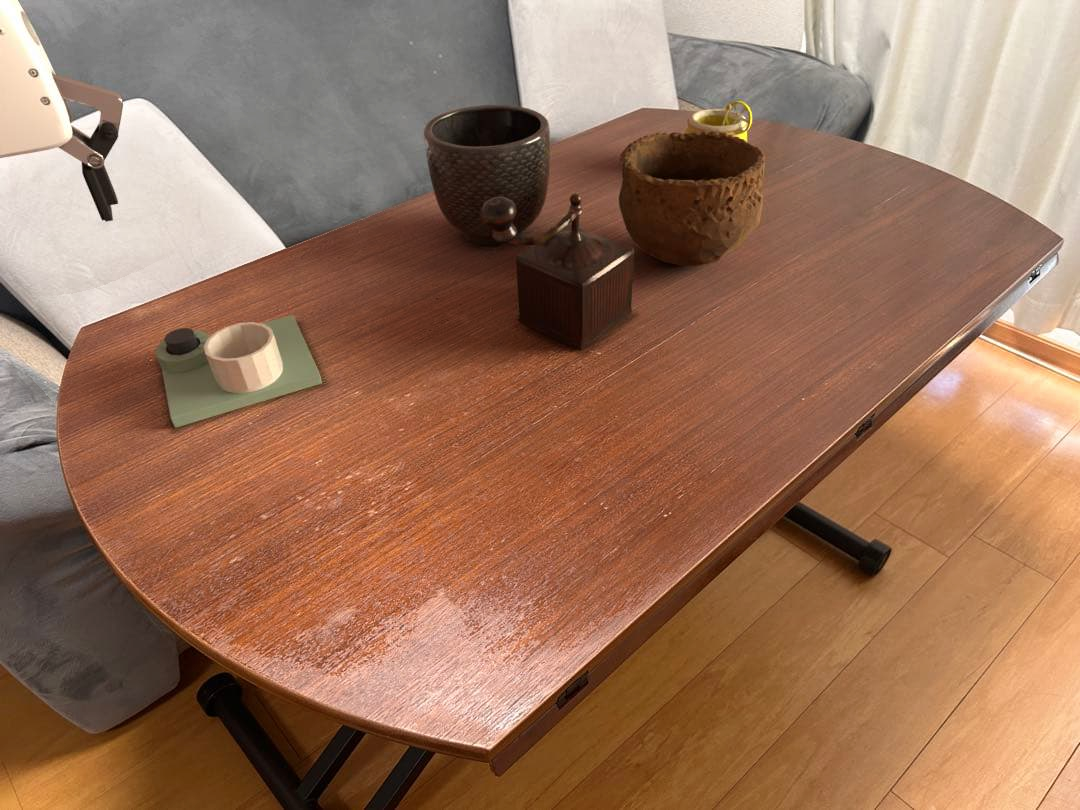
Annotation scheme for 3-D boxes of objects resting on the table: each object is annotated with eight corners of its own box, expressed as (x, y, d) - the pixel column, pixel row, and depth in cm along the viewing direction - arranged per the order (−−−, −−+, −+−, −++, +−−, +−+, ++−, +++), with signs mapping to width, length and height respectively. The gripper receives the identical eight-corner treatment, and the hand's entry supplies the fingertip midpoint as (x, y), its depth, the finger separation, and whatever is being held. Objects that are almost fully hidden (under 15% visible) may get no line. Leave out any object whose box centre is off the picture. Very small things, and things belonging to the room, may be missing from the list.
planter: (531, 267, 105) (526, 154, 94) (418, 252, 109) (401, 143, 99) (565, 213, 117) (564, 108, 107) (463, 202, 122) (452, 100, 111)
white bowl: (222, 401, 82) (209, 368, 79) (212, 365, 87) (199, 333, 84) (289, 381, 84) (279, 348, 81) (276, 347, 89) (266, 315, 87)
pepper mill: (565, 286, 101) (563, 153, 89) (633, 314, 95) (641, 176, 83) (484, 339, 92) (470, 200, 80) (554, 373, 86) (550, 229, 74)
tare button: (171, 359, 86) (165, 346, 85) (168, 344, 89) (163, 332, 87) (200, 351, 87) (195, 338, 86) (196, 337, 90) (191, 324, 88)
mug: (673, 154, 133) (679, 84, 126) (735, 151, 134) (744, 80, 126) (689, 184, 124) (696, 110, 116) (755, 180, 124) (767, 106, 116)
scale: (174, 428, 81) (164, 407, 79) (161, 360, 91) (152, 339, 89) (322, 383, 86) (316, 362, 84) (295, 323, 96) (289, 303, 94)
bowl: (588, 254, 107) (589, 150, 97) (680, 214, 116) (689, 115, 106) (686, 308, 95) (698, 196, 86) (780, 259, 104) (801, 153, 95)
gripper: (69, -53, 52) (155, 187, 62) (-246, -25, 46) (-90, 234, 57) (70, -37, 46) (164, 222, 57) (-285, -3, 41) (-105, 278, 51)
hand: (38, 228), depth 57 cm, fingers open, 9 cm apart
